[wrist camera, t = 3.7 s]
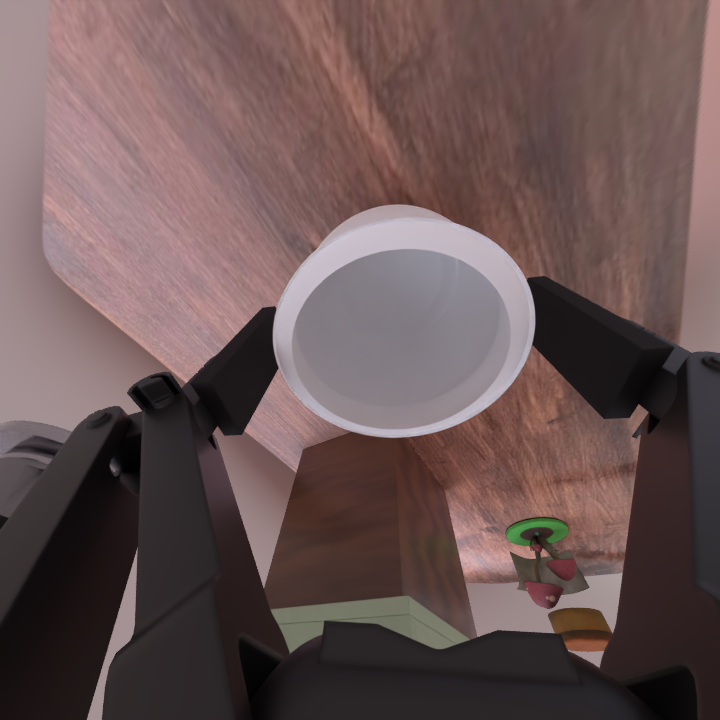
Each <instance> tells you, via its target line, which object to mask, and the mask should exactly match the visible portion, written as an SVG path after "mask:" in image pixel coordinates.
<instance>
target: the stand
mask: <svg viewBox="0 0 720 720" xmlns="http://www.w3.org/2000/svg"><path fill="white" fill-rule="evenodd" d="M264 591H265V595H266V598H267V601H268V604H269V607H270V609H278V608H288V607H298V606H308V605H318V604H328V603H338V602H348V601H358V600H368V599H378V598H388V597H398V596H409V597H411V598H412V599H414V600H415V601H417V602H418V603H419V604H421V605H422V606H424V607H425V608H426V609H428V610H429V611H431V612H432V613H433V614H435V615H436V616H438V617H439V618H440V619H442V620H443V621H445V622H446V623H448V624H449V625H450V626H452V627H453V628H455V629H456V630H457V631H459V632H460V633H462V634H463V635H464V636H466V637H467V638H469V639H470V640H471V639H474V638H477V634H476V629H475V625H474V620H473V616H472V612H471V607H470V603H469V598H468V593H467V589H466V585H465V580H464V576H463V571H462V567H461V562H460V558H459V553H458V549H457V544H456V540H455V535H454V531H453V526H452V522H451V517H450V513H449V508H448V504H447V499H446V495H445V491H444V490H443V488H442V487H441V486H440V484H439V483H438V482H437V480H436V479H435V477H434V476H433V475H432V473H431V472H430V471H429V469H428V468H427V466H426V465H425V464H424V462H423V461H422V460H421V458H420V457H419V455H418V454H417V453H416V451H415V450H414V449H413V447H412V446H411V444H410V443H409V442H408V440H407V439H406V438H405V437H401V438H388V437H376V436H369V435H364V434H359V433H355V432H352V433H349V434H346V435H343V436H340V437H337V438H335V439H332V440H329V441H326V442H323V443H321V444H318V445H315V446H312V447H309V448H307V449H304V450H303V452H302V455H301V459H300V462H299V466H298V470H297V473H296V477H295V480H294V484H293V487H292V491H291V495H290V498H289V502H288V505H287V509H286V512H285V516H284V519H283V523H282V526H281V530H280V534H279V537H278V541H277V544H276V548H275V552H274V555H273V559H272V562H271V566H270V569H269V573H268V576H267V580H266V584H265V587H264Z"/></svg>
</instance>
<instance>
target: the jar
mask: <svg viewBox="0 0 720 720" xmlns="http://www.w3.org/2000/svg"><path fill="white" fill-rule="evenodd" d="M534 332H535V307H534V302H533V297H532V294H531V290H530V288H529V285H528V283H527V281H526V278H525V277H524V275H523V273H522V271H521V270H520V268H519V267H518V265H517V264H516V263H515V261H514V260H513V259H512V258H511V257H510V256H509V255H508V254H507V253H506V252H505V251H504V250H503V249H502V248H501V247H500V246H498V245H497V244H496V243H495V242H493V241H492V240H490V239H489V238H487V237H486V236H484V235H482V234H480V233H478V232H476V231H474V230H472V229H470V228H467V227H465V226H462V225H459V224H456V223H453V222H452V221H450V220H449V219H447V218H445V217H444V216H442V215H440V214H438V213H436V212H433V211H431V210H428V209H425V208H421V207H417V206H411V205H385V206H379V207H375V208H371V209H368V210H366V211H363V212H361V213H358V214H356V215H354V216H352V217H351V218H349V219H347V220H346V221H344V222H343V223H342V224H340V225H339V226H338V227H336V228H335V229H334V230H333V231H332V232H331V233H330V234H329V235H328V236H327V237H326V238H325V239H324V240H323V242H322V243H321V244H320V245H319V247H318V248H317V250H315V251H314V252H313V253H312V254H311V255H310V256H309V257H308V258H307V259H306V260H305V261H304V262H303V263H302V264H301V265H300V267H299V268H298V269H297V271H296V272H295V273H294V275H293V276H292V278H291V279H290V281H289V283H288V284H287V286H286V288H285V290H284V292H283V294H282V296H281V298H280V301H279V303H278V306H277V310H276V314H275V318H274V325H273V347H274V353H275V357H276V361H277V364H278V367H279V370H280V372H281V374H282V376H283V378H284V380H285V382H286V384H287V385H288V387H289V388H290V390H291V391H292V392H293V394H294V395H295V396H296V397H297V398H298V399H299V400H300V401H301V402H302V403H303V404H304V405H305V406H306V407H307V408H308V409H310V410H311V411H312V412H313V413H315V414H316V415H318V416H319V417H321V418H322V419H324V420H326V421H328V422H330V423H332V424H334V425H336V426H338V427H340V428H343V429H346V430H349V431H352V432H355V433H359V434H364V435H369V436H376V437H388V438H401V437H413V436H420V435H426V434H430V433H434V432H438V431H441V430H444V429H447V428H450V427H453V426H455V425H458V424H460V423H462V422H464V421H466V420H468V419H470V418H472V417H473V416H475V415H477V414H478V413H480V412H481V411H483V410H484V409H486V408H487V407H488V406H490V405H491V404H492V403H493V402H495V401H496V400H497V399H498V398H499V397H500V396H501V395H502V394H503V393H504V392H505V391H506V390H507V389H508V388H509V386H510V385H511V384H512V383H513V381H514V380H515V379H516V377H517V376H518V374H519V373H520V371H521V369H522V368H523V366H524V364H525V362H526V360H527V357H528V355H529V352H530V349H531V346H532V342H533V338H534Z"/></svg>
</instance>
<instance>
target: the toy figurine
mask: <svg viewBox="0 0 720 720" xmlns="http://www.w3.org/2000/svg"><path fill="white" fill-rule="evenodd" d="M567 534H568V528H567V526H566V524H565V523H563V522H561V521H559V520H556V519H549V518H537V519H530V520H525V521H522V522H519V523H516V524H514V525H512V526H511V527H510V528H509V529H508V530H507V532H506V535H507V538H508V540H509V541H510V542H512V543H514V544H518V545H523V546H531V547H530V549H531V548H532V550H533V551H534V550H535V555H536V559H526V558H523V557H520V556H518V555H516V554H514V553H512V552H510V554H511V557H512V559H513V562H514V565H515V568H516V570H517V574H518V579H519V586H518V588H517V589H518V590H524V591H528V593H529V595H530V596H531V598H532V600H533V601H534V602H535V603H536V604H537V605H539V606H541V607H544V608H547V609H550V608H553V607H555V605H556V604H557V603H558V600H559V598H560V596H561V595H565V594H573V593H577V592H580V591H583V590H586V589H588V588H589V586H588V584H587V582H586V580H585V578H584V576H583V575H582V573H581V571H580V570H579V568H578V566H577V564H576V562H575V559H574V557H573V556H572V554H571V552H570V551H567V552H564V553H561V554H557V552H556V551H557V550H555V549H554V548H553V547H552V546H551V545H550V543H554V542H557V541H559V540H561V539H563V538H564V537H565V536H566V535H567ZM542 548H543V549H545V550H546V551H547V552H548V553H549V554H550V555H551V556H549V557H542V558H541V556H540V552H541V551H542ZM532 550H531V551H532ZM548 617H549V620H550V622H551V624H552V627H553V629H554V632H555V634H561V635H562V638H563V640H564V643H565V645H566V648H567V650H572V651H587V652H590V651H604V650H605V648H606V646H607V644H608V642H609V640H610V638H611V636H612V635H613V633H612V632H611V630H610V628H609V626H608V624H607V622H606V620H605V618H604V616H603V614H602V613H601V612H600V611H599V610H595V609H590V608H564V609H560V610H556V611H553V612H550V613H549V614H548Z"/></svg>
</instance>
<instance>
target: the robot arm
mask: <svg viewBox="0 0 720 720" xmlns="http://www.w3.org/2000/svg"><path fill="white" fill-rule="evenodd" d="M527 283H528V285H529V288H530V290H531V294H532V297H533V302H534V307H535V332H534V338H533V342H532V345H533V346H534V347H535V348H536V349H537V350H538V351H539V352H540V353H541V354H542V355H543V356H544V357H545V358H546V359H547V360H548V361H549V362H550V363H551V364H552V365H553V366H554V368H555V369H556V370H557V371H558V372H559V373H560V374H561V375H562V376H563V377H564V378H565V379H566V380H567V381H568V382H569V383H570V384H571V385H572V386H573V387H574V388H575V389H576V390H577V391H578V392H579V393H580V394H581V396H582V397H583V398H584V399H585V400H586V401H587V402H588V403H589V404H590V405H591V406H592V407H593V408H594V409H595V410H596V411H597V412H598V413H599V414H600V415H601V416H602V417H603V418H604V419H612V418H630V416H631V415H632V413H633V412H634V410H635V409H636V407H637V406H638V404H640V405H641V406H642V407H643V408H644V409H646V410H647V411H648V412H649V413H648V414H647V416H646V417H645V419H644V420H643V422H642V423H641V424H640V426H639V427H638V429H637V430H636V432H635V433H634V434H633V436H632V437H634V438H637V437H638V436H639V435H641V439H640V446H639V454H638V462H637V469H636V477H635V484H634V492H633V500H632V507H631V515H630V522H629V530H628V538H627V545H626V553H625V560H624V568H623V575H622V584H621V591H620V598H619V606H618V613H617V621H616V626H615V629H614V632H613V635H612V636H611V638H610V640H609V642H608V644H607V646H606V648H605V650H604V654H603V656H602V660H601V664H600V668H598V667H597V666H595V665H594V664H592V663H591V662H589V661H587V660H585V659H583V658H581V657H579V656H577V655H575V654H574V653H571V652H569V651H568V650H567V648H566V645H565V643H564V640H563V638H562V635H561V634H555V633H537V632H536V633H535V632H519V631H501V630H497V631H494V632H492V633H488V634H485V635H483V636H480V637H477V638H474V639H471V640H468V641H465V642H462V643H459V644H456V645H453V646H450V647H448V648H444V649H435V648H432V647H429V646H427V645H425V644H423V643H420V642H418V641H416V640H413V639H411V638H409V637H407V636H404V635H402V634H400V633H397V632H395V631H393V630H391V629H388V628H386V627H384V626H381V625H379V624H375V623H357V622H339V621H324V626H323V634H322V635H319V636H317V637H315V638H313V639H311V640H309V641H307V642H305V643H303V644H302V645H301V646H299V647H298V648H297V649H295V650H294V651H293V652H291V653H290V652H289V649H288V646H287V643H286V641H285V638H284V636H283V633H282V631H281V629H280V627H279V625H278V623H277V622H276V620H275V618H274V616H273V614H272V612H271V610H270V607H269V604H268V601H267V598H266V595H265V591H264V588H263V585H262V582H261V579H260V575H259V572H258V569H257V566H256V563H255V560H254V556H253V553H252V550H251V547H250V544H249V541H248V538H247V535H246V531H245V528H244V525H243V521H242V519H241V515H240V512H239V509H238V506H237V502H236V499H235V496H234V493H233V490H232V487H231V483H230V480H229V477H228V474H227V471H226V468H225V465H224V461H223V458H222V455H221V452H220V448H219V445H218V442H217V439H216V438H215V436H214V435H213V432H214V430H215V429H216V427H217V426H218V427H219V428H220V430H221V431H222V433H223V434H224V435H242V433H243V432H244V430H245V428H246V426H247V424H248V423H249V421H250V419H251V417H252V415H253V414H254V412H255V410H256V408H257V406H258V405H259V403H260V401H261V399H262V397H263V395H264V394H265V392H266V390H267V388H268V386H269V385H270V383H271V381H272V379H273V377H274V376H275V374H276V372H277V370H278V368H279V367H278V364H277V361H276V357H275V353H274V347H273V325H274V318H275V314H276V307H275V306H274V307H265V308H262V309H261V310H260V311H259V312H258V313H257V314H256V315H255V316H254V317H253V318H252V319H251V320H250V321H249V322H248V323H247V324H246V325H245V326H244V327H243V328H242V330H241V331H240V332H239V333H238V334H237V335H236V336H235V337H234V338H233V339H232V340H231V341H230V342H229V343H228V344H227V345H226V346H225V347H224V348H223V349H222V350H221V351H220V352H219V354H217V355H216V356H214V357H213V358H211V359H210V360H209V361H208V362H207V363H206V364H205V365H204V367H202V368H201V369H200V370H199V371H198V373H196V374H195V375H194V376H193V377H192V378H191V379H190V380H189V381H188V382H187V383H186V384H185V385H184V386H183V387H182V388H181V387H180V386H179V384H178V383H177V381H176V380H175V379H174V377H173V376H172V375H171V373H169V372H162V373H156V374H153V375H150V376H148V377H146V378H144V379H142V380H140V381H139V382H137V383H135V384H134V385H133V386H132V387H131V388H130V389H129V391H128V392H127V394H128V395H129V396H130V397H131V398H132V399H133V401H134V402H135V403H136V404H137V405H138V406H139V407H140V409H141V410H142V412H138V413H134V414H131V415H127V414H126V413H125V412H124V410H123V409H122V408H120V407H119V406H113V407H108V408H105V409H103V410H98V411H97V412H94V414H91V415H89V416H88V417H87V418H86V419H84V420H83V421H82V422H81V423H80V424H79V425H78V426H77V427H76V428H75V429H74V431H73V432H72V433H71V435H70V436H69V437H68V439H67V440H66V441H65V443H64V444H63V445H62V447H61V448H60V450H59V451H58V452H57V453H54V452H51V451H47V450H43V449H37V448H29V447H18V448H13V449H10V450H9V451H7V452H6V453H4V454H3V455H2V456H0V720H87V717H88V713H89V710H90V706H91V703H92V700H93V696H94V693H95V690H96V686H97V683H98V679H99V676H100V673H101V669H102V666H103V662H104V659H105V656H106V652H107V649H108V645H109V642H110V638H111V635H112V632H113V628H114V625H115V622H116V618H117V615H118V611H119V608H120V605H121V601H122V598H123V594H124V591H125V588H126V584H127V581H128V578H129V574H130V571H131V567H132V564H133V561H134V557H135V554H136V550H137V547H138V556H137V583H136V584H137V585H136V612H135V628H134V634H133V636H132V638H131V640H130V641H129V642H128V643H127V644H126V645H125V646H124V647H122V648H121V649H120V650H119V651H118V652H117V653H116V654H115V656H114V658H113V660H112V662H111V664H110V667H109V670H108V675H107V680H106V685H105V694H104V704H103V715H102V720H720V353H715V352H694V353H691V352H689V351H687V350H685V349H683V348H682V347H680V346H678V345H676V344H674V343H672V342H670V341H669V340H667V339H665V338H663V337H661V336H659V335H656V334H655V333H654V332H652V331H650V330H648V329H646V330H645V328H644V327H642V326H640V325H639V324H637V323H635V322H633V321H630V320H627V319H624V318H621V317H619V316H617V315H615V314H613V313H611V312H610V311H608V310H606V309H604V308H602V307H600V306H599V305H597V304H595V303H593V302H591V301H589V300H588V299H586V298H584V297H582V296H580V295H578V294H577V293H575V292H573V291H571V290H569V289H567V288H566V287H564V286H562V285H560V284H558V283H556V282H555V281H553V280H551V279H549V278H547V277H545V276H540V277H532V278H528V279H527ZM110 465H111V466H112V467H113V468H115V469H116V471H115V473H114V475H113V473H112V472H111V468H110Z"/></svg>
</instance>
